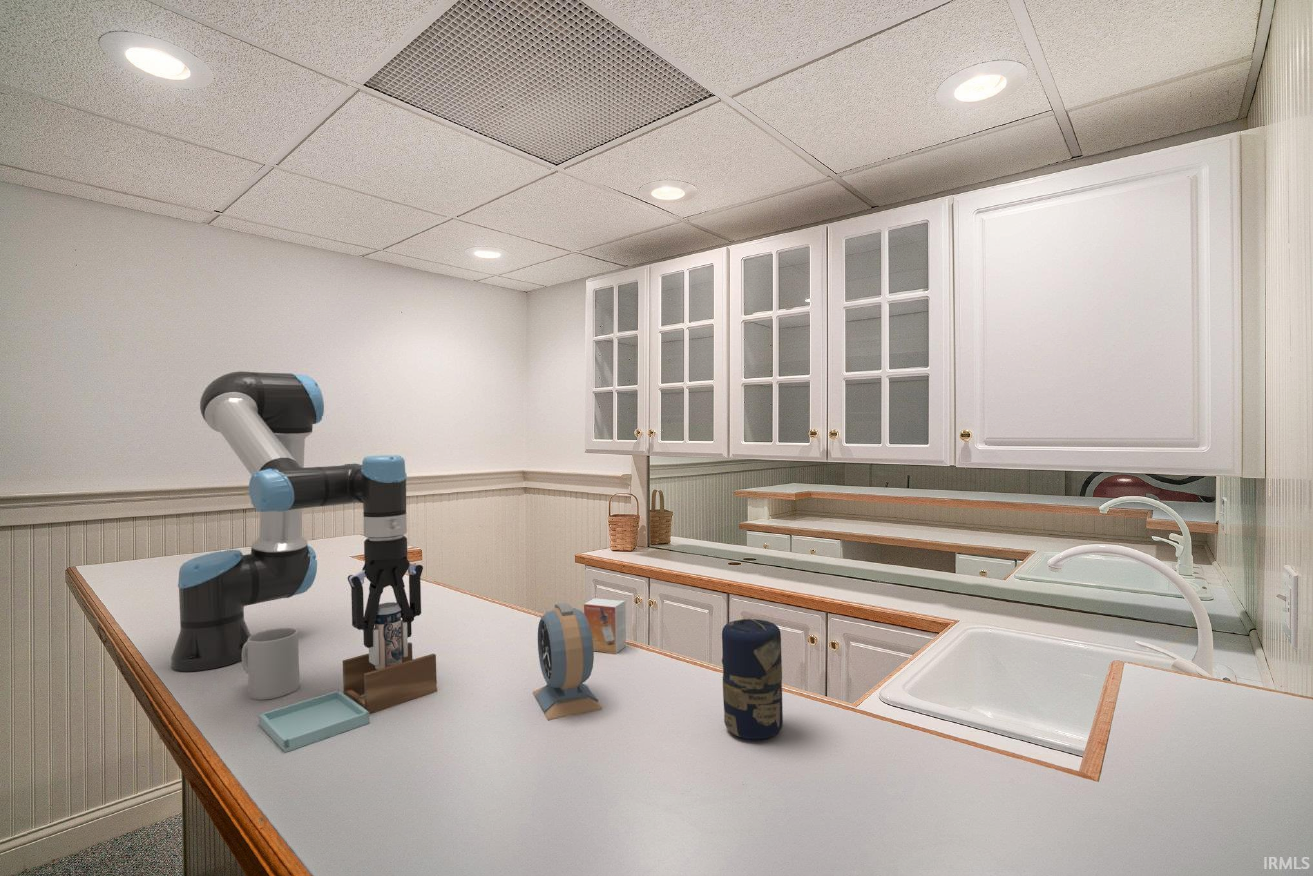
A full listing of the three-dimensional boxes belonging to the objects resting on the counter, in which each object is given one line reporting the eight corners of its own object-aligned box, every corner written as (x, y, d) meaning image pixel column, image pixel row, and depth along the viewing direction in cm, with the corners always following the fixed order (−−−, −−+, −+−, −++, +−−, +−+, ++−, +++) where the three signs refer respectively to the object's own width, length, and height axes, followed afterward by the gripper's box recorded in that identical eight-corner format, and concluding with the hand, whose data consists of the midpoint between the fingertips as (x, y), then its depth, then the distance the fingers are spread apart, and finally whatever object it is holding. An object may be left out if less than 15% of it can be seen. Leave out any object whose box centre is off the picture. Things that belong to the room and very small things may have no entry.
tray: (259, 725, 107) (258, 714, 107) (339, 700, 117) (338, 690, 117) (284, 752, 98) (284, 741, 98) (369, 722, 107) (369, 712, 107)
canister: (746, 750, 95) (743, 632, 95) (712, 725, 103) (710, 616, 103) (795, 734, 99) (793, 622, 99) (759, 711, 108) (757, 607, 108)
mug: (310, 684, 125) (308, 629, 125) (272, 702, 117) (270, 643, 116) (263, 678, 128) (261, 625, 128) (224, 695, 120) (222, 639, 120)
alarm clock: (531, 691, 119) (528, 598, 118) (581, 682, 123) (578, 592, 122) (549, 723, 106) (546, 618, 105) (604, 711, 109) (601, 610, 109)
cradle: (343, 697, 118) (342, 660, 118) (410, 676, 127) (409, 642, 127) (367, 714, 110) (366, 675, 110) (436, 691, 120) (435, 654, 120)
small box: (583, 650, 140) (582, 603, 140) (595, 642, 145) (594, 597, 145) (616, 654, 137) (615, 606, 137) (626, 646, 142) (625, 600, 142)
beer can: (392, 673, 116) (390, 609, 116) (369, 672, 117) (368, 608, 117) (407, 663, 121) (406, 602, 121) (385, 662, 122) (384, 601, 122)
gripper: (343, 546, 109) (347, 678, 110) (439, 532, 122) (442, 651, 123) (328, 541, 115) (331, 667, 115) (421, 528, 127) (424, 642, 128)
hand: (388, 658), depth 119 cm, fingers closed on beer can, 5 cm apart
